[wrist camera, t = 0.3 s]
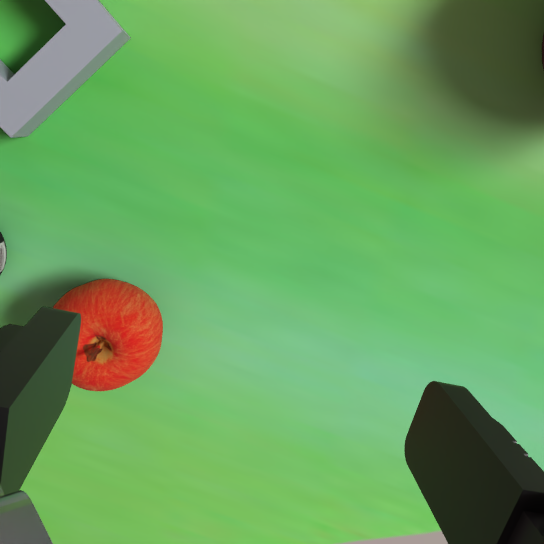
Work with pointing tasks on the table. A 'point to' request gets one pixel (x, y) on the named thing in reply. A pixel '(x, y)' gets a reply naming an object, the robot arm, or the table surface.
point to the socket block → (58, 65)
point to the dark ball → (543, 52)
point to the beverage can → (2, 253)
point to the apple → (113, 333)
